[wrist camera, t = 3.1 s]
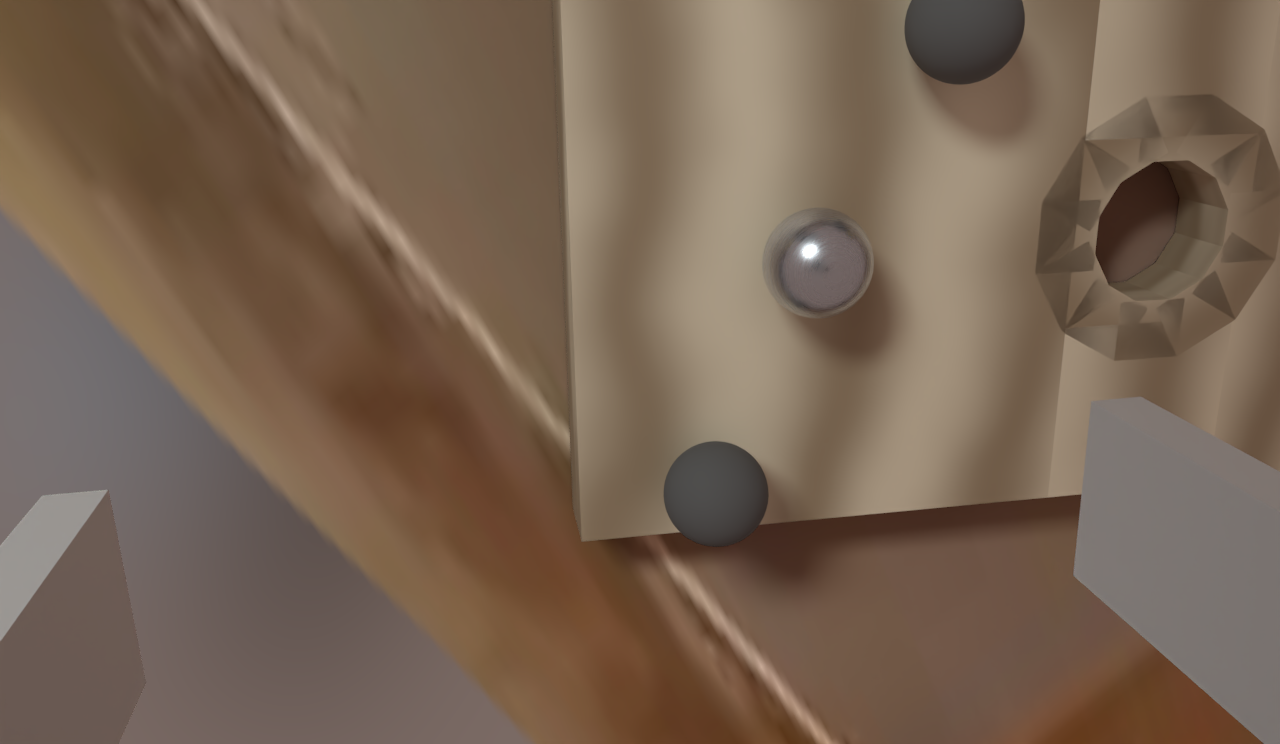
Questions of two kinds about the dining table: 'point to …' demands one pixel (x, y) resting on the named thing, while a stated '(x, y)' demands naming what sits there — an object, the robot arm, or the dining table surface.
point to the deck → (906, 246)
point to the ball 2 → (963, 37)
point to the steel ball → (817, 263)
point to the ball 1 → (716, 493)
